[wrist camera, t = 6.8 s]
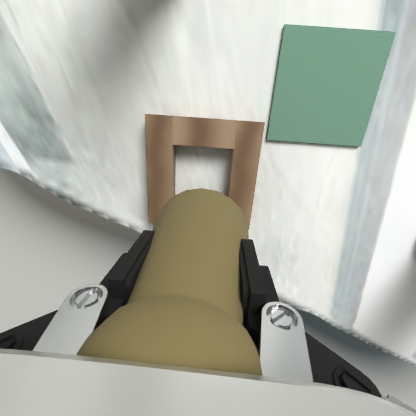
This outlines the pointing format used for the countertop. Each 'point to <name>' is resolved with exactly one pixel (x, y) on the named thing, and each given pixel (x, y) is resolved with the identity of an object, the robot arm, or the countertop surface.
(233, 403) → the robot arm
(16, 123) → the countertop surface
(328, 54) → the mat
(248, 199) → the socket
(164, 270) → the cork
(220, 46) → the countertop surface
